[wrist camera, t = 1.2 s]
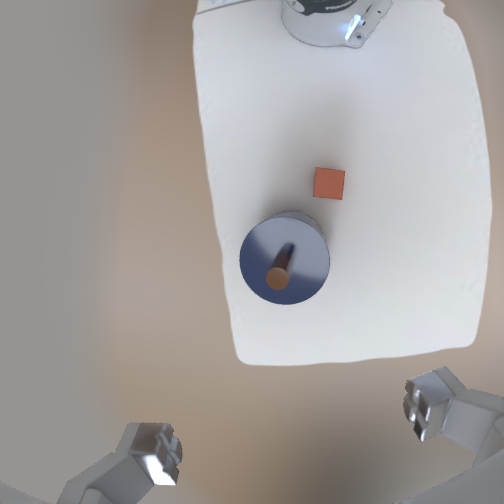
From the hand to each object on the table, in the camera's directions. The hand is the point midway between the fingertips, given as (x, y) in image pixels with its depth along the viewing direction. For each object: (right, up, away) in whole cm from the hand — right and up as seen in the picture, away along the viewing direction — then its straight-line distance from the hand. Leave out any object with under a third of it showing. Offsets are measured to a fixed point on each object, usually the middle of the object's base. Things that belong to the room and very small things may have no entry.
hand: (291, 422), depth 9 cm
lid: (+3, +4, +34) cm, 35 cm away
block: (+11, +17, +40) cm, 45 cm away
